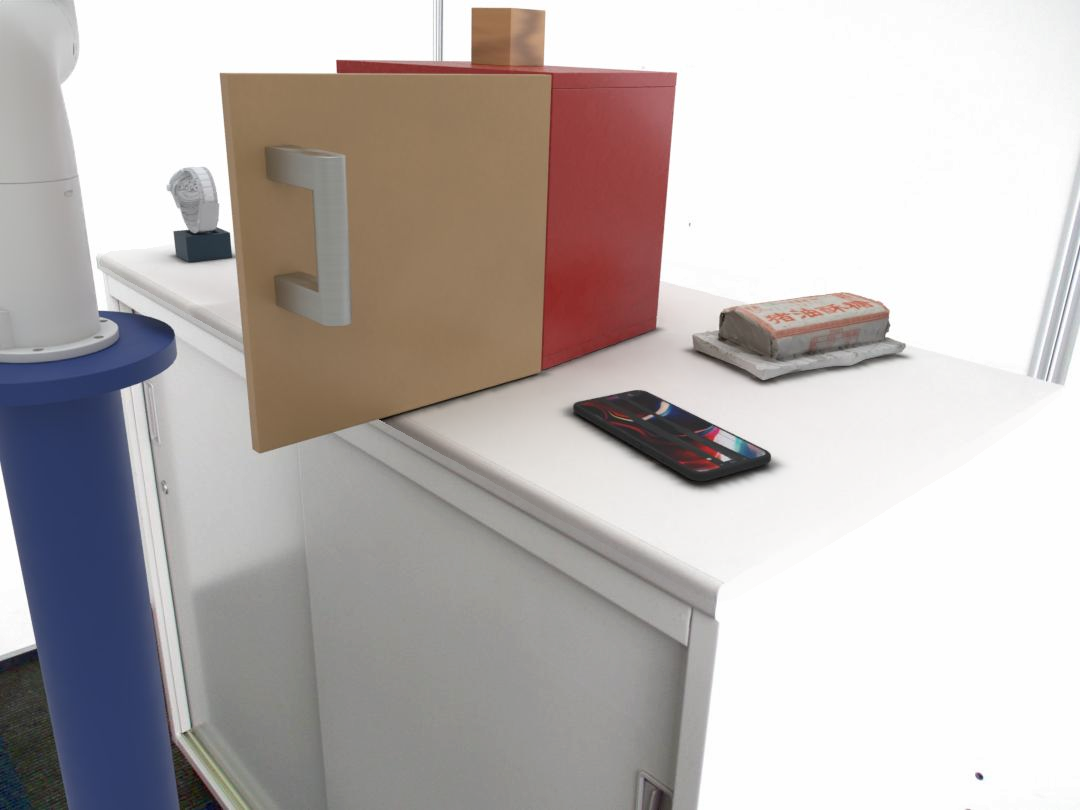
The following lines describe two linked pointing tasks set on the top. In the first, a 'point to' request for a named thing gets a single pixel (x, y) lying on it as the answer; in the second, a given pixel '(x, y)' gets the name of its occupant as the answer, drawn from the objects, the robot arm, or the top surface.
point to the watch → (198, 216)
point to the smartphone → (672, 435)
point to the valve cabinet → (592, 197)
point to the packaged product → (800, 334)
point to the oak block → (507, 36)
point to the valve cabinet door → (384, 240)
